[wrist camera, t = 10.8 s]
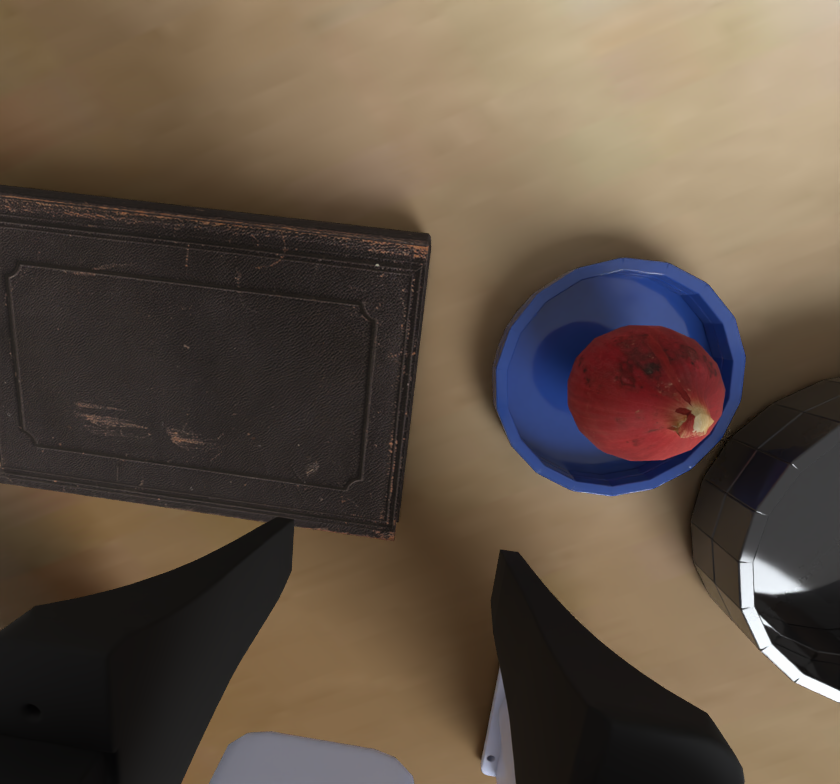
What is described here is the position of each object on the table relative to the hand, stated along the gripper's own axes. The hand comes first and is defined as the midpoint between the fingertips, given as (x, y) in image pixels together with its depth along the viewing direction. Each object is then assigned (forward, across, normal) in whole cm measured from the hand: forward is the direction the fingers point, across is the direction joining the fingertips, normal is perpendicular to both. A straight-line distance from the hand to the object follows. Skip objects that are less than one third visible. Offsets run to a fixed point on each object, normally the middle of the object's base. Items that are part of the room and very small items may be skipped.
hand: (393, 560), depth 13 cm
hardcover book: (+10, +12, -4) cm, 16 cm away
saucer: (+9, -10, -6) cm, 15 cm away
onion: (+9, -9, -6) cm, 15 cm away
